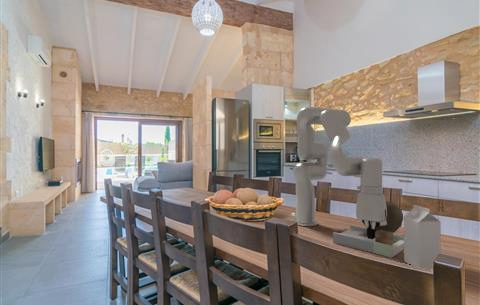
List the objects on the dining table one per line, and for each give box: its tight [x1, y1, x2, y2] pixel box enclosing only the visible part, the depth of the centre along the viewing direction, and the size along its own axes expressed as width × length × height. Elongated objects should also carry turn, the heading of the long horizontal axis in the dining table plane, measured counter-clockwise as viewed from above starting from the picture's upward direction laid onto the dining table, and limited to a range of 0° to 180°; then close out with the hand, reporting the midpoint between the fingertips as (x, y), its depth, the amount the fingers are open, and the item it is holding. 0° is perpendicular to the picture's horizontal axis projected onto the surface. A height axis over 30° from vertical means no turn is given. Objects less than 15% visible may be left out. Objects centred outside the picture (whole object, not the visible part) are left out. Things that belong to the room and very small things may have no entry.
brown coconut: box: [371, 200, 404, 234], centre depth 119 cm, size 14×14×15 cm
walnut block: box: [375, 230, 394, 245], centre depth 100 cm, size 4×4×4 cm
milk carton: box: [403, 204, 442, 269], centre depth 86 cm, size 7×7×19 cm
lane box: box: [332, 225, 404, 259], centre depth 107 cm, size 22×16×4 cm
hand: (371, 238), depth 103 cm, fingers closed
